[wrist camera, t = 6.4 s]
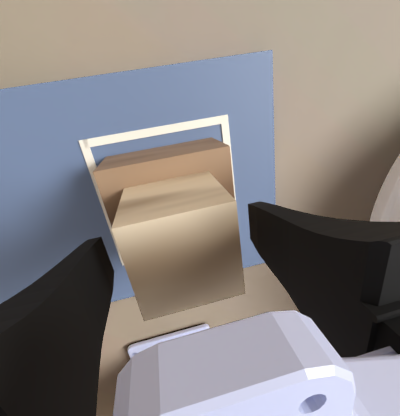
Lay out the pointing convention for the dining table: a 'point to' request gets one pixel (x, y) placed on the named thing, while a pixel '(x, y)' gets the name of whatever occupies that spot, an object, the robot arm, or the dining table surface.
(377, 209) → the plate stack
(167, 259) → the maple cube
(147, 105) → the board
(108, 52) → the dining table surface
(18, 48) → the dining table surface
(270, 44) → the dining table surface
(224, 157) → the walnut base
